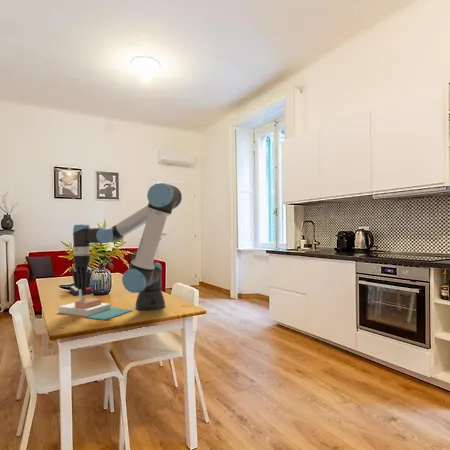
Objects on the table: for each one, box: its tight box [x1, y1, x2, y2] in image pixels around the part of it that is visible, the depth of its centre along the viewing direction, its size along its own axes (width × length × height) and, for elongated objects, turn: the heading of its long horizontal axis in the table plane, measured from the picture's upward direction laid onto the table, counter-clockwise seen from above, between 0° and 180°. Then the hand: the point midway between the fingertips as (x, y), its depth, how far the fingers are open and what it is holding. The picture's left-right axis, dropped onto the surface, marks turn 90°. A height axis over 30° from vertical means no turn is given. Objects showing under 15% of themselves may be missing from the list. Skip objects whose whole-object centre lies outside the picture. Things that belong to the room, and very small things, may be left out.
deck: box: [58, 302, 112, 317], centre depth 163 cm, size 14×20×3 cm
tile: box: [74, 297, 102, 308], centre depth 162 cm, size 10×7×2 cm
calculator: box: [69, 285, 92, 297], centre depth 212 cm, size 11×4×15 cm
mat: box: [84, 307, 133, 321], centre depth 157 cm, size 18×12×1 cm, turn 156°
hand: (82, 301), depth 164 cm, fingers closed
